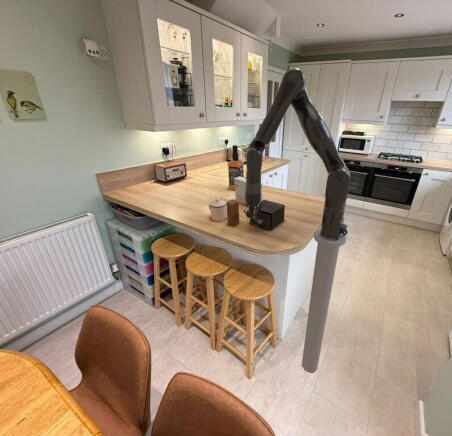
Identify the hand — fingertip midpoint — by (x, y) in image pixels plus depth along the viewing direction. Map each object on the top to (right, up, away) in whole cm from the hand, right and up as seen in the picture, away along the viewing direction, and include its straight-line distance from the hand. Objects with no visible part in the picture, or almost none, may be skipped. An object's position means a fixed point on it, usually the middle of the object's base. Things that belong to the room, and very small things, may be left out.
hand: (253, 224), depth 116 cm
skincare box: (-4, +12, +35) cm, 38 cm away
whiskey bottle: (-14, +26, +63) cm, 70 cm away
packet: (-11, 0, +10) cm, 15 cm away
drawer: (+5, 0, +9) cm, 10 cm away
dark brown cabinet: (+8, +1, +12) cm, 14 cm away
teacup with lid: (-21, +3, +18) cm, 28 cm away
